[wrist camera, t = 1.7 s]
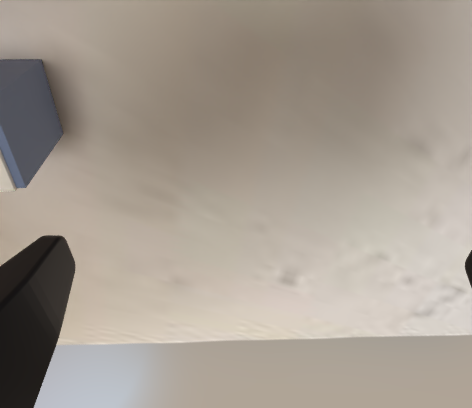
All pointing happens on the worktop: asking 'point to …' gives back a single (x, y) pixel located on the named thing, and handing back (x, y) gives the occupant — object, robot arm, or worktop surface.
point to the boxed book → (25, 121)
